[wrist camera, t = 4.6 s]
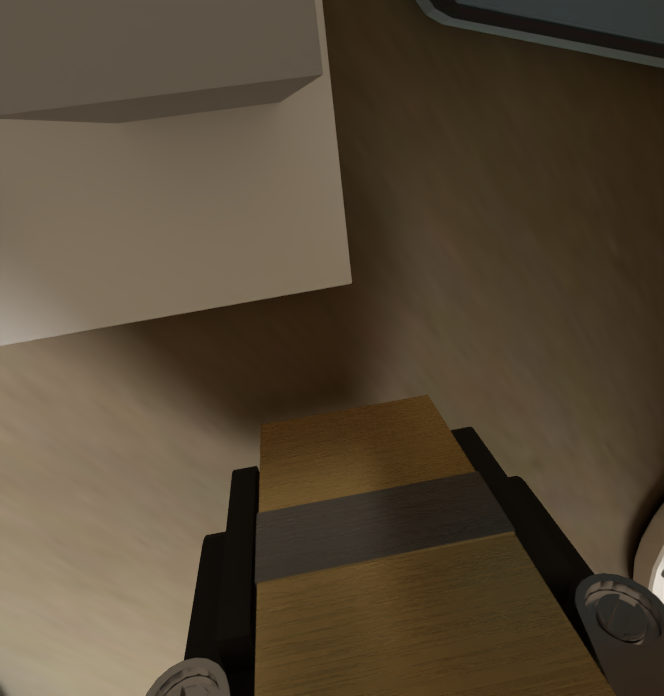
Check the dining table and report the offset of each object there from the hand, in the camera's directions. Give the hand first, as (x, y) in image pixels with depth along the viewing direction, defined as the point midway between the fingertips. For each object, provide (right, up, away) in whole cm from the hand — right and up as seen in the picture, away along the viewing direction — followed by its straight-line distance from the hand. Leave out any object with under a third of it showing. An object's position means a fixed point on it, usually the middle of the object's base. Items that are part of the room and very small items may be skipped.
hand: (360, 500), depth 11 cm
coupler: (0, 0, +1) cm, 1 cm away
